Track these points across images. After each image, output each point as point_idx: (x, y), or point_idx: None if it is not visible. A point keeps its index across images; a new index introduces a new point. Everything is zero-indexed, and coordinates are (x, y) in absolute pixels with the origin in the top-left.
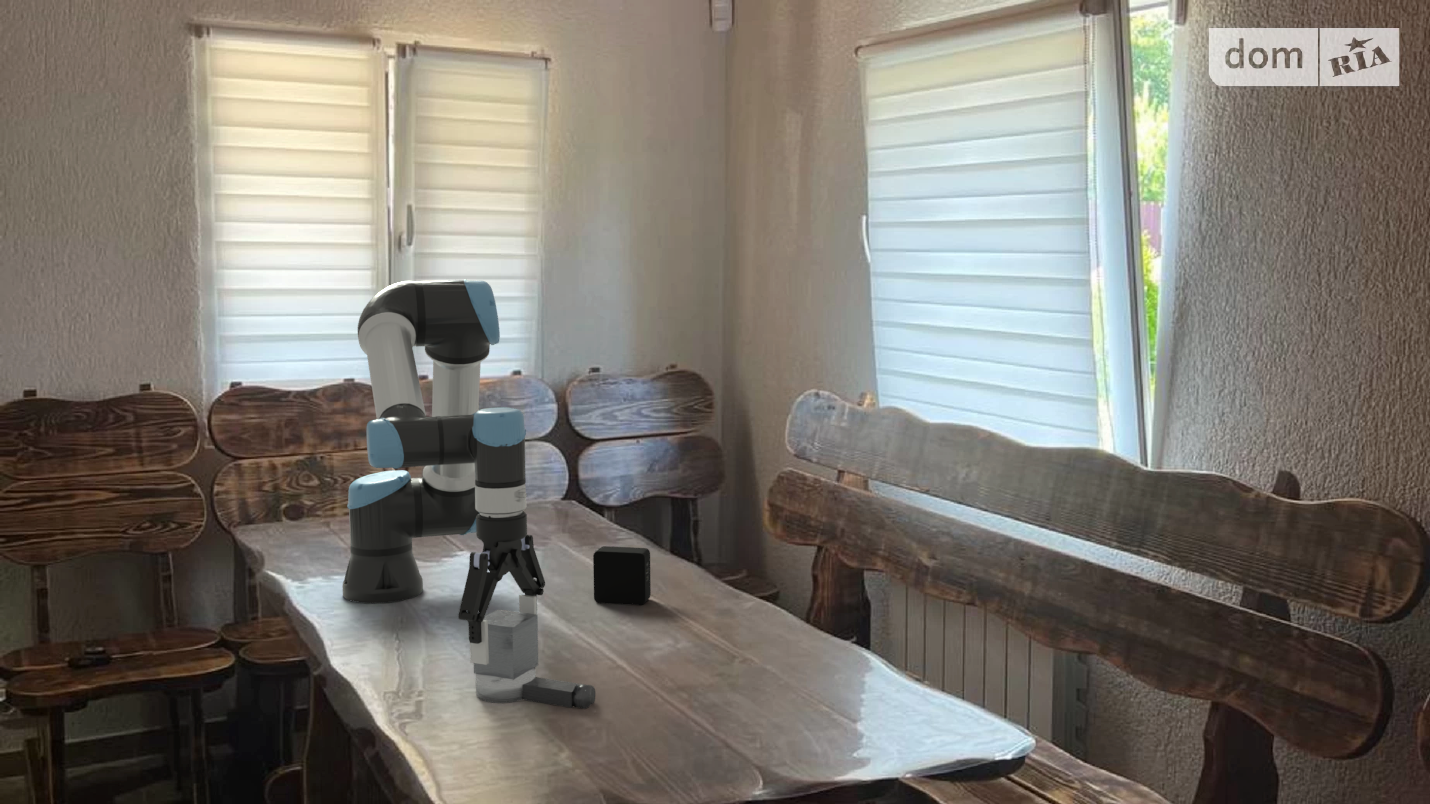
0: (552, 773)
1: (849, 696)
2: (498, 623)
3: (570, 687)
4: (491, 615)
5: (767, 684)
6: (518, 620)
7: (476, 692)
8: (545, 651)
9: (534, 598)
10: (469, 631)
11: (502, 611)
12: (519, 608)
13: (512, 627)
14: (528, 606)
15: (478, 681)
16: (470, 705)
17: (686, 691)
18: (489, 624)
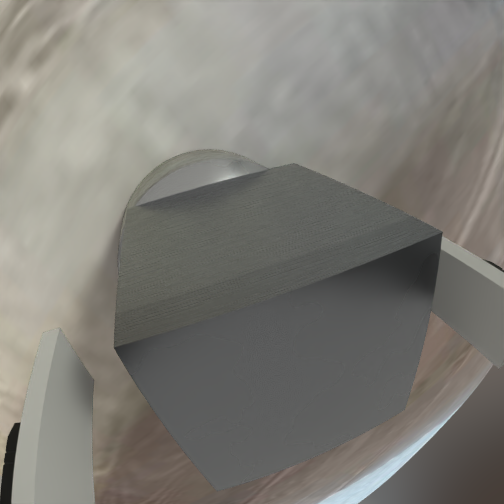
0: None
1: (387, 459)
2: (217, 447)
3: None
4: (328, 311)
5: (402, 423)
6: (311, 444)
7: (131, 198)
8: (452, 109)
9: (498, 363)
10: (5, 472)
11: (417, 287)
12: (478, 272)
13: (217, 490)
14: (478, 320)
15: (120, 236)
16: (76, 241)
17: None
18: (172, 434)
